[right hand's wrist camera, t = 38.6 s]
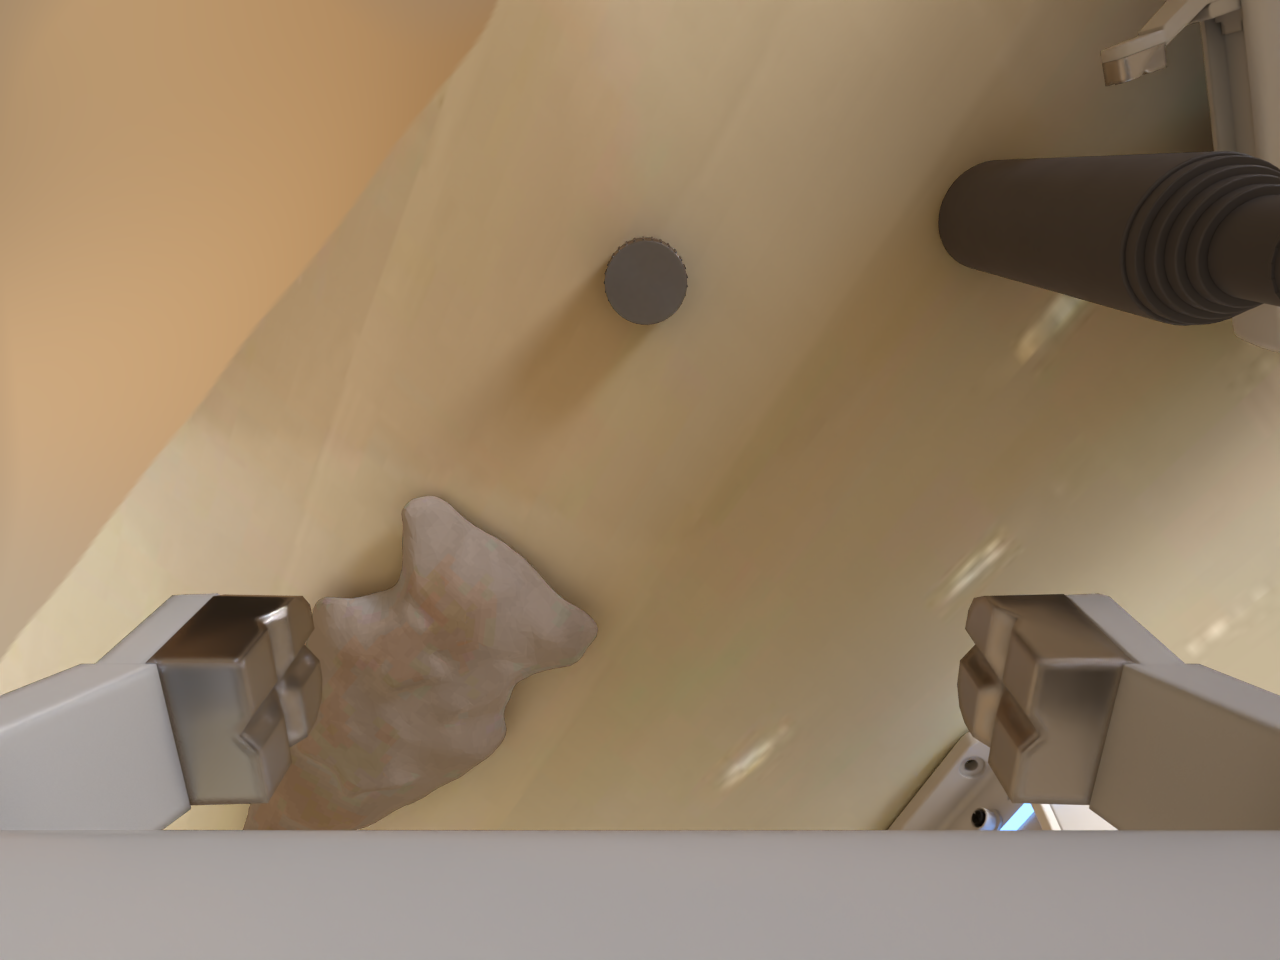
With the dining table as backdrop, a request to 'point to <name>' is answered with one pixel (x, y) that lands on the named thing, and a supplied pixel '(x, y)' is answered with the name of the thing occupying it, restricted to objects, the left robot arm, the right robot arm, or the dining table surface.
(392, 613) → the arrowhead
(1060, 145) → the dining table surface
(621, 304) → the cap
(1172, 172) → the bottle
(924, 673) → the dining table surface
